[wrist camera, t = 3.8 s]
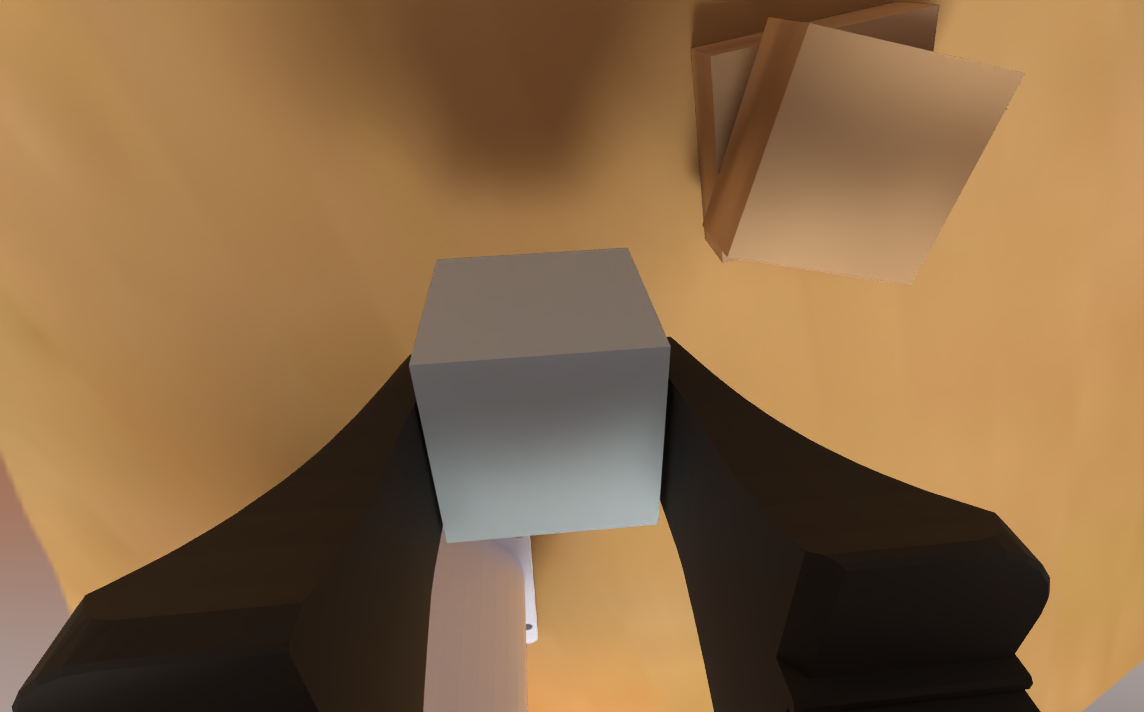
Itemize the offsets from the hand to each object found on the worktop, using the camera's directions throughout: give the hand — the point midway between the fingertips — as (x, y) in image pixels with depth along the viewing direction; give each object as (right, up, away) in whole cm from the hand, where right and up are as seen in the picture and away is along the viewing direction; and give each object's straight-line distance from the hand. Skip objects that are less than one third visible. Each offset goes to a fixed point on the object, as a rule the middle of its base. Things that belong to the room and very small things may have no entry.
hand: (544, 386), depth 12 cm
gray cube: (0, +1, +1) cm, 2 cm away
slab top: (+8, +7, +5) cm, 11 cm away
